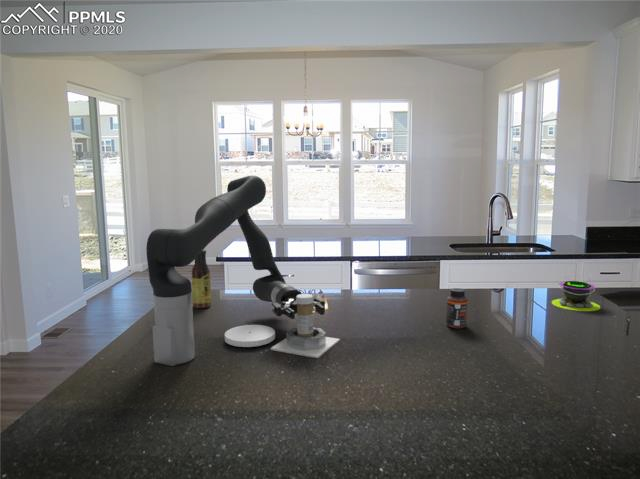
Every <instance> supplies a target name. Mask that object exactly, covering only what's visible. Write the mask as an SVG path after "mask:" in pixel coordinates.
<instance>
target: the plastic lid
mask: <svg viewBox="0 0 640 479" xmlns="http://www.w3.org/2000/svg"><path fill="white" fill-rule="evenodd" d="M275 339H276V331H275V329H274V328H273V327H271V326H267V325H263V324H244V325H240V326H235V327H232V328H230V329H228V330H226V331H225V332H224V341H225V343H226V344H228V345H230V346H233V347H239V348H241V347H242V348H252V347H260V346H263V345H267V344H270V343H271V342H273V341H274V340H275Z"/></svg>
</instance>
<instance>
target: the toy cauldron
mask: <svg viewBox="0 0 640 479" xmlns="http://www.w3.org/2000/svg"><path fill="white" fill-rule="evenodd" d="M567 277H569V275H568V276H565V277H564V279H567ZM576 277H580V275H576ZM567 280H568V281H566V280H565V281H561V282H559V283H558V285H559V288H560V289H561V290H562V295H563V297H562V298H557V299H552V300H551V304H552V305H553V306H555V307H557V308H561V309H564V310H569V311H576V312H595V311H599V310H601V306H600V305H599V304H597V303H595V302H593V301H591V300H589V298H590V296H591V294H593V293H594V292H595V291H596V287H595V285H594V284H591V283H587V282H586V281H583V280H582V279H580V280H575V279H572V280H570V279H569V278H568V279H567ZM588 281H591V279H590V278H588Z"/></svg>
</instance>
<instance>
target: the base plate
mask: <svg viewBox="0 0 640 479" xmlns="http://www.w3.org/2000/svg"><path fill="white" fill-rule="evenodd" d="M340 341H341V338H337V337H331V336H330V337H329V336H326V344H324V345H323V346H322V347H321V348H319V349H313V350H306V351H303V350H298V349H292V348H290V347H289V345H288V344H287V337H285V338H284V339H283V340H281V341H279V342H278V343H276V344H275V345H273V346H272V347H270V350H271V351H275V352H280V353H285V354H286V353H287V354H292V355H297V356H303V357H307V358H314V359H320V358H321V357H322V356H323V355H325V353H327V352H328V351H329V350H331V348H333V347H334V346H335V345H337V344H338V343H339V342H340Z"/></svg>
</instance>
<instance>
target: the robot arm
mask: <svg viewBox="0 0 640 479" xmlns="http://www.w3.org/2000/svg"><path fill="white" fill-rule="evenodd" d="M226 191H227V192H225V193H222V194H220V195H217V196H215V197H213V198H210V199H209V200H208V201H206V202H205V203H204V204H202V205H201V206H200V207H199V208H198V209H197V210H196V212H195V216H194V223H193V225H191V226H189V227H187V228H181V229H178V228H175V229H174V228H156V229H154V230H153V231H152V232H150V234H149V236H148V238H147V242H146V246H145V247H146V250H145V251H146V261H147V262H146V263H147V269H148V279H149V283H150V286H151V287H152V294H153V308H154V309H153V310H154V311H153V312H154V325H152V343H153V357H154V362H153V363H157V364H161V365H165V366H171V367H174V366H176V365H181V364H185V363H188V362H191V361H192V360H193V359H194V358H195V356H196V353H195V352H196V351H195V350H196V349H195V332H194V330H195V329H194V315H193V314H194V311H193V298H192V281H191V280H190V279H189V278H187V277H186V276H183V275H181V274H180V273H179V272H178V270H176V268H183V267H187V266H189V265H190V264H191V263H192V262H193V263H194V262H195V259H196V257H197V256H198V255H199V254H200V253H201V252H202V251H203V250H205V248H206V247H207V246H208V245H210V243H211V242H212V241H214V240H215V239H216V237H218V236H219V235H220V234H221V233H223V232H224V231H226V230H227V229H228V228H229V227H230V226H232V224H234V223H235V222H236V221H237V222H238V224H239V227H240V229H241V231H242V233H243V236H244V239H245V242H246V245H247V248H248V251H249V256H250V260H251V263H252V264H251V265H252V267H253V270H255V271H265V270H266V271H268V272H269V273H270V274H268V275H266V276H262V277H258V278H256V279H255V280H254V282H253V284H252V290H253V294H254V296H255V297H257V299H258V300H260V301H263V302H268V303H271V312H272V313H273V314H275V316H276V317H281V316H282V315H283V316H284V317H287V318H289V319H291V320H294V319H295V318H296V317H295V315H297V303H296V296H297V295H299V294H303V292H301V290H298V289H297V288H295V287H294V286H293V285H291V284H287V283H286V281H285V278H284V276H283V275H282V274H281V271H280V270H279V268H278V266H277V263H276V262H275V258H274V254H273V251H272V247H271V244H270V240H268V237H267V236H266V234H265V233H264V232H263V231H262V230H261V229H260V228H259V227H258V225H257V224H256V223H255V222H254V220H253V219H252V217H251V215H250V213H249V210H250V209H251V208H253V207H255V206H257V205H258V204H260V203H262V202H263V200H264V199H265V197H266V193H267V187H266V184H265V181H264V179H262V178H261V177H259V176H257V175H247V176H244V177H240V178H235V179H233V180H231V181H230V182H229V183H228V185H227V190H226ZM313 312H316V313H318V314H319V315H321V316H324V315H325V314H326V301H325V300H324V299H321V298H320V297H317V296H313Z"/></svg>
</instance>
